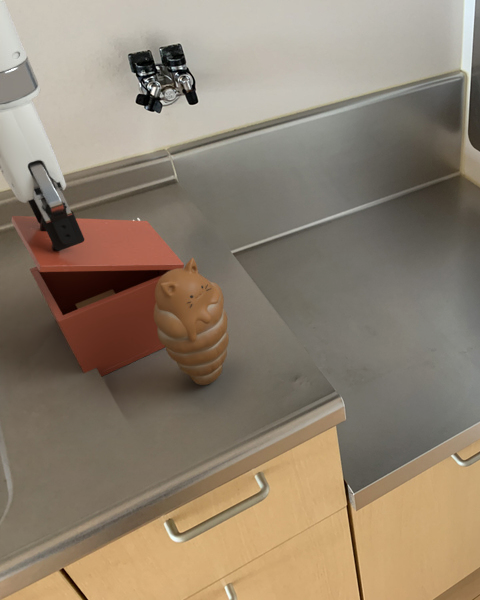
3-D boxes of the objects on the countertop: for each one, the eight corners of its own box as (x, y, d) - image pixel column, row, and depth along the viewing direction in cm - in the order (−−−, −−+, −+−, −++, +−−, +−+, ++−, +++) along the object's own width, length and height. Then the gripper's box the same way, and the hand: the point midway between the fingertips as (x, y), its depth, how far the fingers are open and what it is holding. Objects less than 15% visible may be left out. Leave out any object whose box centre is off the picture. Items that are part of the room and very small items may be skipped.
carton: (99, 351, 81) (86, 324, 78) (87, 331, 84) (74, 304, 81) (136, 335, 84) (125, 308, 80) (123, 315, 87) (112, 288, 83)
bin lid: (39, 272, 67) (44, 224, 64) (11, 221, 74) (15, 177, 72) (183, 269, 78) (192, 229, 76) (146, 225, 86) (153, 187, 83)
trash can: (88, 382, 78) (57, 321, 71) (60, 329, 86) (29, 268, 79) (202, 330, 86) (184, 269, 78) (167, 284, 93) (147, 226, 86)
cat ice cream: (212, 413, 75) (176, 303, 63) (162, 392, 77) (119, 282, 65) (254, 365, 81) (229, 256, 69) (207, 347, 83) (175, 238, 71)
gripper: (-65, 66, 64) (9, 212, 76) (-31, 122, 54) (49, 280, 65) (12, 50, 67) (71, 192, 79) (58, 99, 57) (118, 254, 69)
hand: (61, 230), depth 72 cm, fingers closed on bin lid, 6 cm apart
